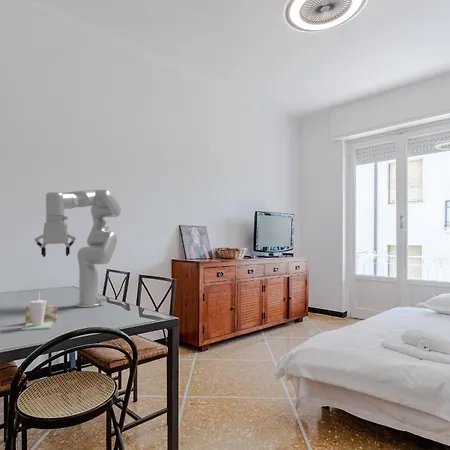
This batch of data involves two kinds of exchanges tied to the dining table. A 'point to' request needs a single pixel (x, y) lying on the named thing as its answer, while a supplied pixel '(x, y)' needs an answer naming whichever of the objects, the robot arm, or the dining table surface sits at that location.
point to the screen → (48, 316)
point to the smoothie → (38, 311)
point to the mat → (30, 326)
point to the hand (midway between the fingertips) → (55, 256)
